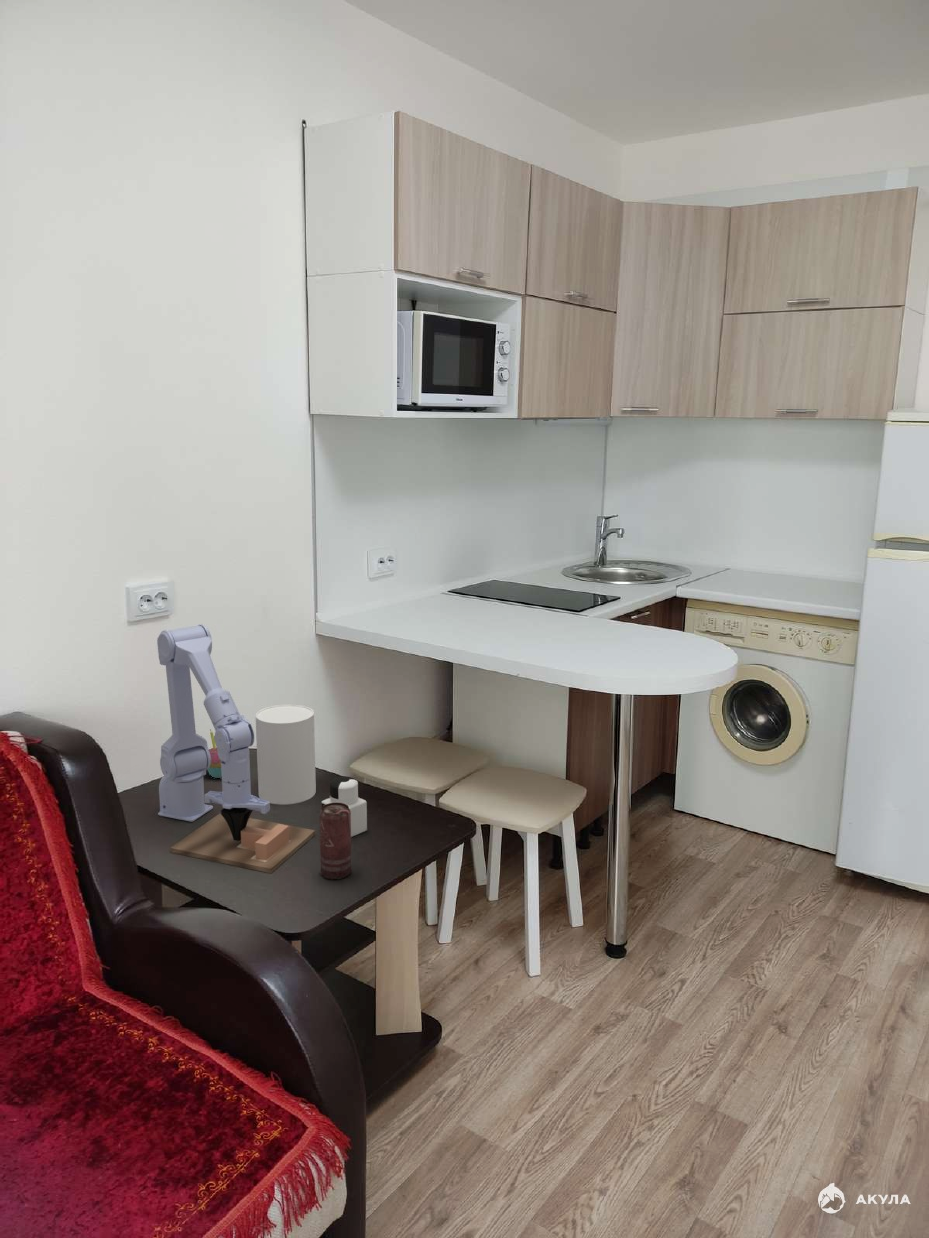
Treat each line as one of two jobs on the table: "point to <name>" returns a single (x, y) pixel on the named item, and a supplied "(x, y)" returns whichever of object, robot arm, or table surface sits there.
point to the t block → (265, 840)
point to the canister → (286, 753)
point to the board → (238, 845)
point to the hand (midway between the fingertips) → (238, 838)
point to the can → (335, 840)
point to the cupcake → (214, 760)
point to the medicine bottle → (349, 802)
